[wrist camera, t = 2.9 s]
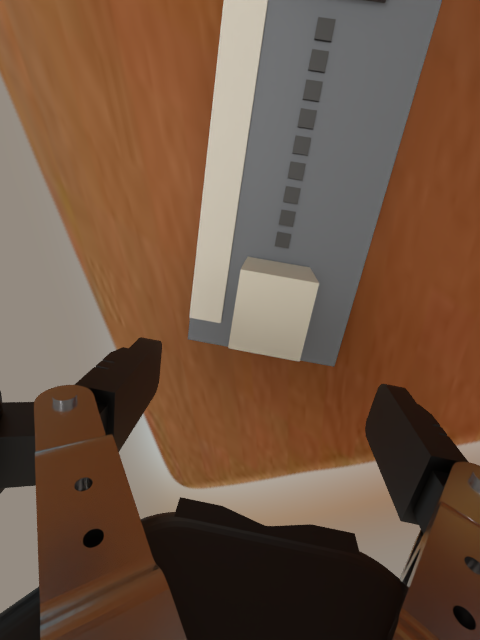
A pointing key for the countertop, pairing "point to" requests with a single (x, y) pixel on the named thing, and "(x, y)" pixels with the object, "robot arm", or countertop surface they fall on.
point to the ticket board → (303, 149)
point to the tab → (273, 308)
